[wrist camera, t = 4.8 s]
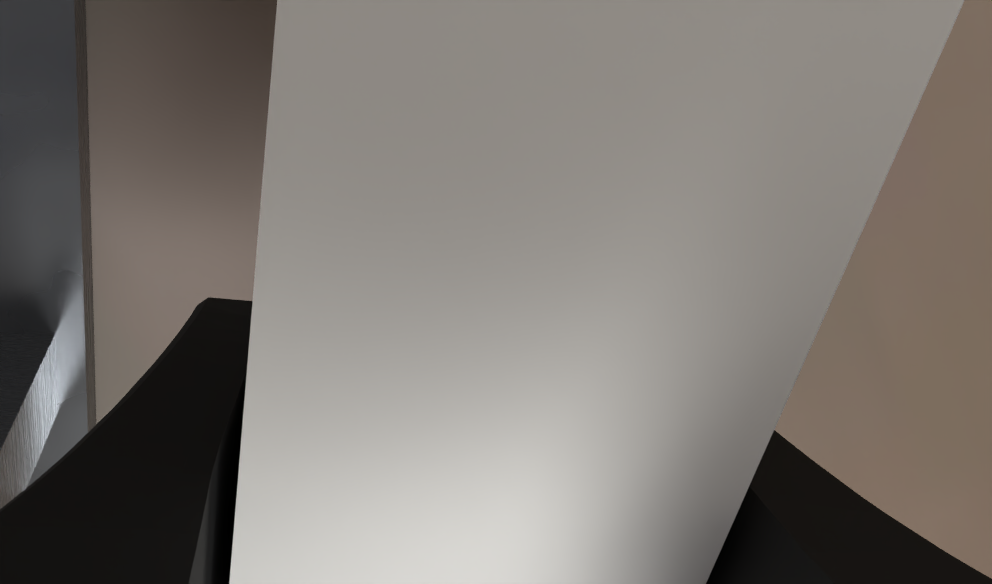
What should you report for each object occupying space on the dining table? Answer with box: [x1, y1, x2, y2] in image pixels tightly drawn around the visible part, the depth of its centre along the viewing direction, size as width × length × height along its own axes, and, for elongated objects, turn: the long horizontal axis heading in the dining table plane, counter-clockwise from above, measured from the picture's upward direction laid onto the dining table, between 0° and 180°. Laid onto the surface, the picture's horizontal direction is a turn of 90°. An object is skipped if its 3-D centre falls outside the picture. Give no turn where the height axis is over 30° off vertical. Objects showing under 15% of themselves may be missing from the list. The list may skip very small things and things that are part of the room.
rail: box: [229, 0, 964, 584], centre depth 10 cm, size 4×18×5 cm, turn 168°
